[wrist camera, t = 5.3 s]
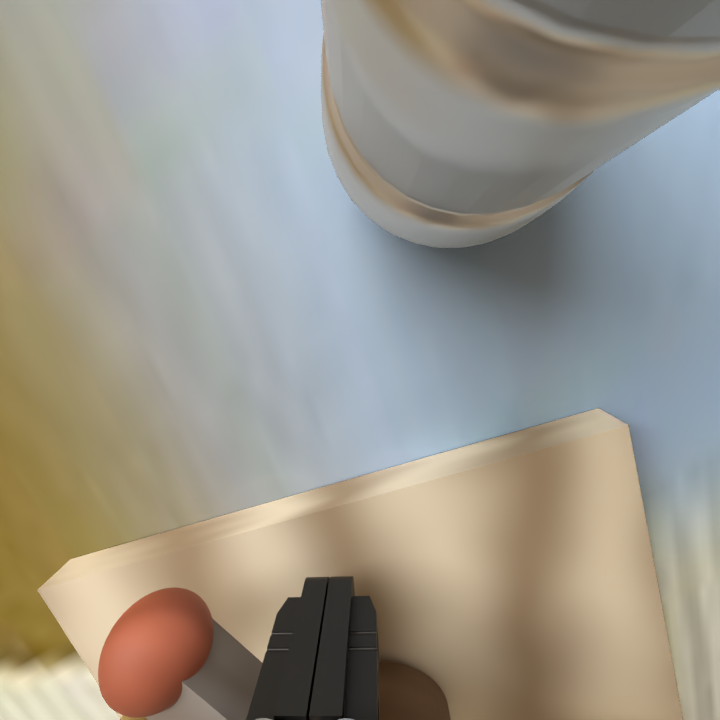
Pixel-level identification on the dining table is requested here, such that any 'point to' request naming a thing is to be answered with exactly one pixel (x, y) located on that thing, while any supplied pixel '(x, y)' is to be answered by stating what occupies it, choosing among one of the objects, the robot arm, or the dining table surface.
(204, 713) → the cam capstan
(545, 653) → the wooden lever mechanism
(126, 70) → the dining table surface
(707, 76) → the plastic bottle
